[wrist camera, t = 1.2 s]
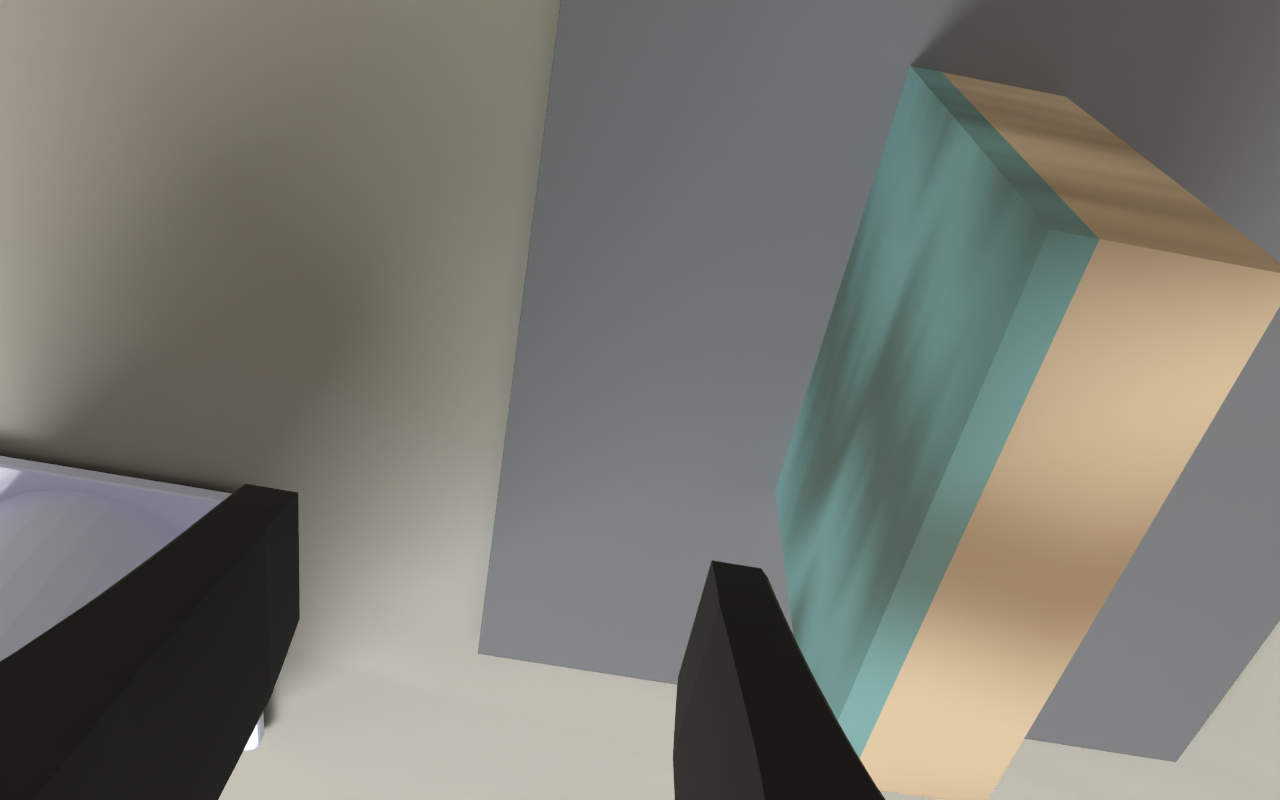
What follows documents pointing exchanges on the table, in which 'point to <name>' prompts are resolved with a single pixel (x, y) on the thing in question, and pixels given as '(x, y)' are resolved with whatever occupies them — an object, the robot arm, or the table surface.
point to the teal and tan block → (998, 418)
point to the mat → (802, 305)
